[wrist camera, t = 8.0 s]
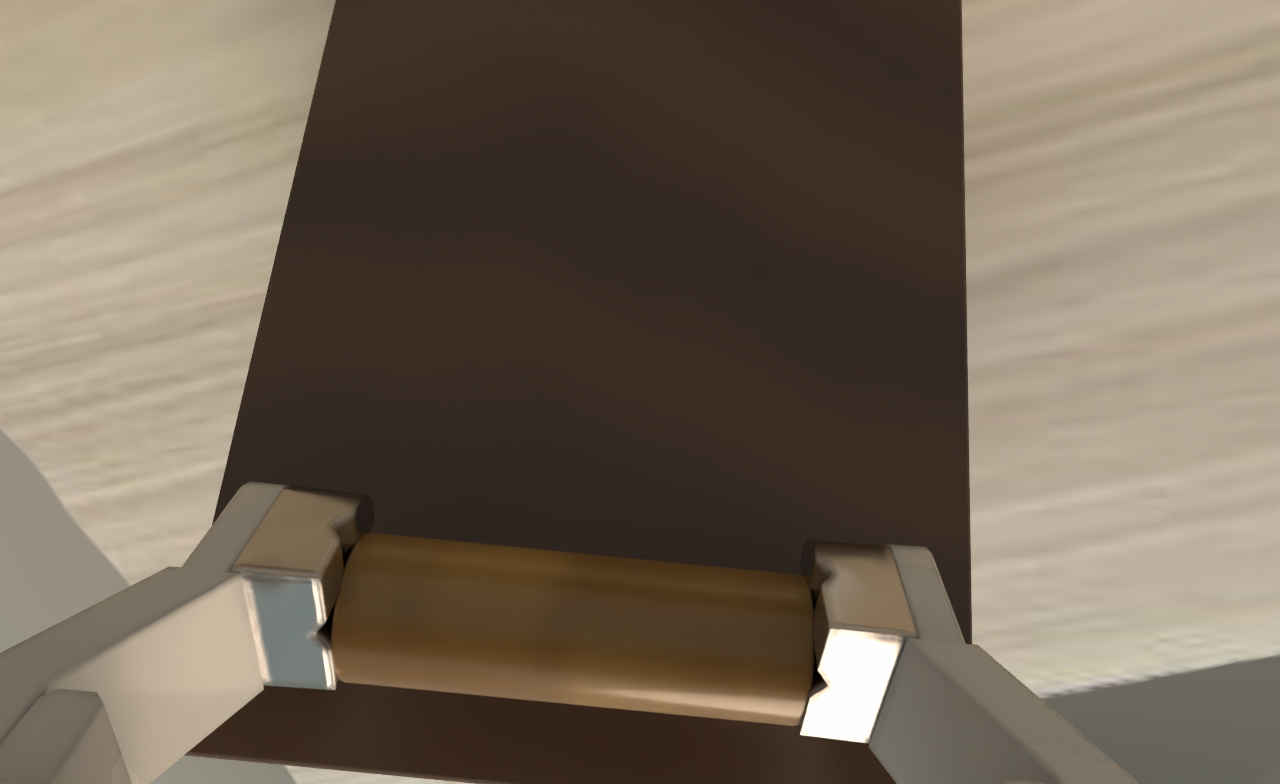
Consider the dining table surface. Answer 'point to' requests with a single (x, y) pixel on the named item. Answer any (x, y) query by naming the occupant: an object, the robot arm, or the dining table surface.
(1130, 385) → the dining table surface
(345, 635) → the lid
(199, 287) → the dining table surface
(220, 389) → the dining table surface
